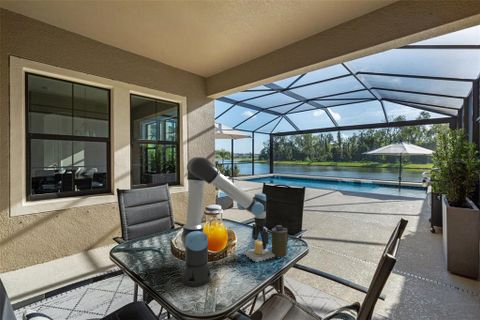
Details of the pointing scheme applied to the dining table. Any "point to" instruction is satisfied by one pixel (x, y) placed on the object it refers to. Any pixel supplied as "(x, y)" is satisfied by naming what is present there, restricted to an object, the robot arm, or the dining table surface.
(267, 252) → the board
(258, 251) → the tan wooden cylinder
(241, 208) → the robot arm
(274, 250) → the canister
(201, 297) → the dining table surface
